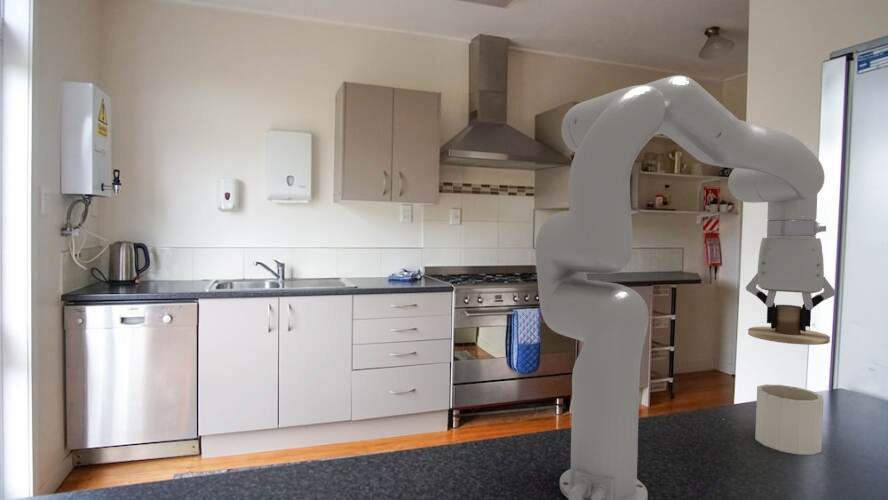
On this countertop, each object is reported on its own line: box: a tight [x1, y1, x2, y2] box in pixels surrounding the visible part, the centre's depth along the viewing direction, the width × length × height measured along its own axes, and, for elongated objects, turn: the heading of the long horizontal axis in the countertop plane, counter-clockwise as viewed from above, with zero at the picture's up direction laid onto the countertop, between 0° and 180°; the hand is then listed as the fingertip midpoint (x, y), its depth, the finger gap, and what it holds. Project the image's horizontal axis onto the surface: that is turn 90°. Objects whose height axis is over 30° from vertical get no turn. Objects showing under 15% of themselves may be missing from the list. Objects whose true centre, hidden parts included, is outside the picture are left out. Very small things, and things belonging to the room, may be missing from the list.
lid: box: [747, 304, 831, 346], centre depth 96 cm, size 13×13×6 cm
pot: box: [754, 384, 824, 456], centre depth 96 cm, size 10×10×10 cm
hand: (787, 327), depth 96 cm, fingers closed on lid, 4 cm apart
